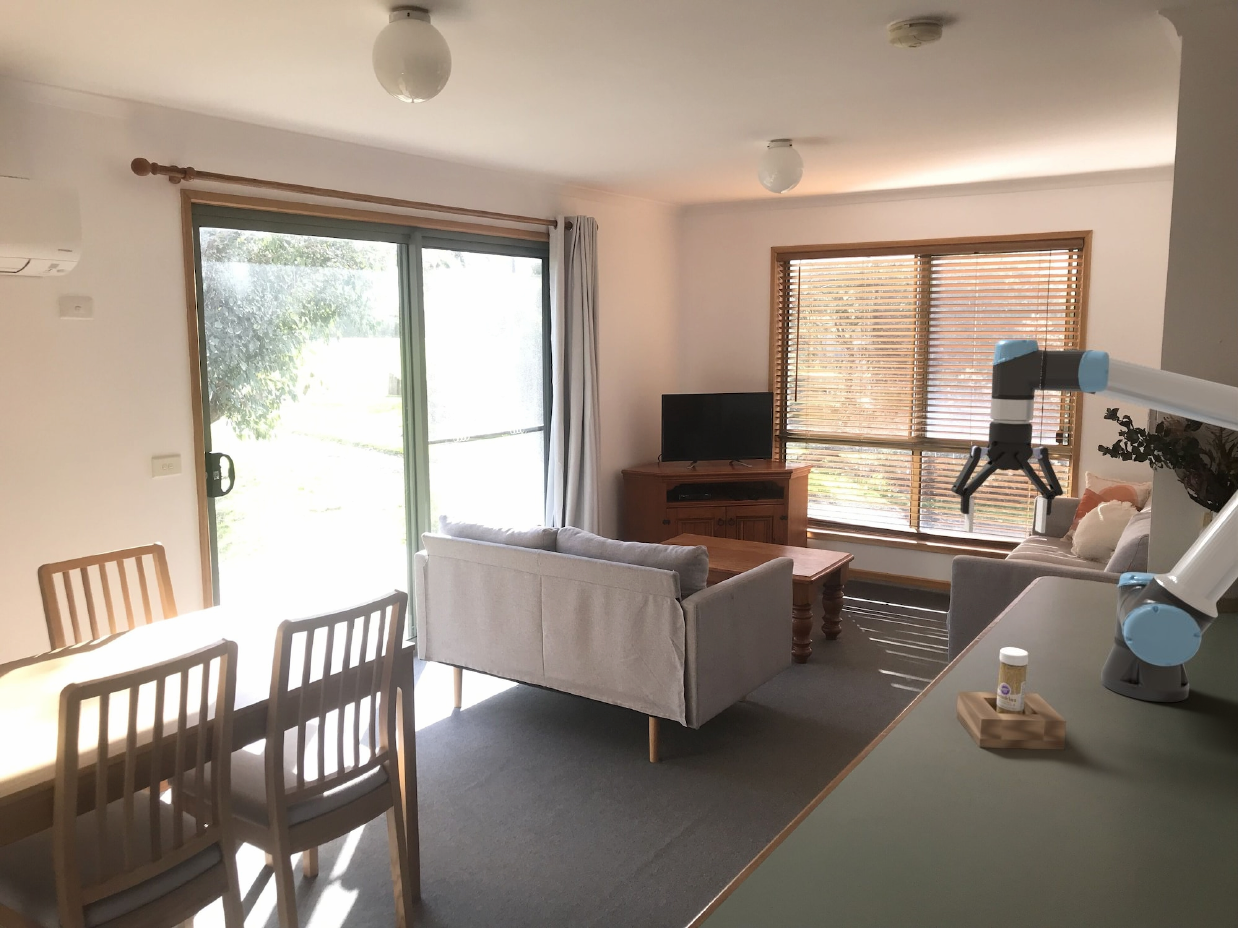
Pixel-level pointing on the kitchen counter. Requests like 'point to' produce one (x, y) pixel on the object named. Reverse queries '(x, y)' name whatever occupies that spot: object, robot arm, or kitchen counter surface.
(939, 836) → the kitchen counter surface
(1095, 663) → the kitchen counter surface
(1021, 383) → the robot arm
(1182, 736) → the kitchen counter surface
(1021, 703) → the sprinkles bottle
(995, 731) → the brown wooden square frame
